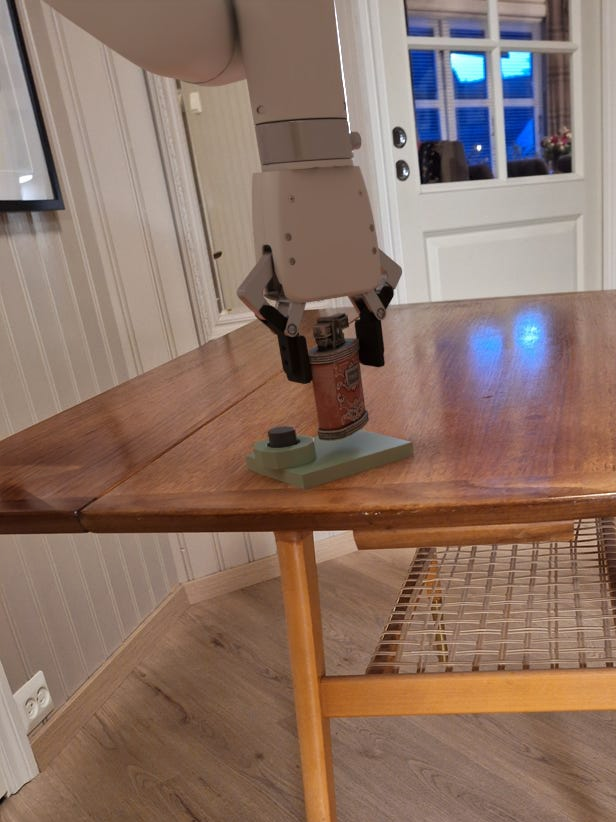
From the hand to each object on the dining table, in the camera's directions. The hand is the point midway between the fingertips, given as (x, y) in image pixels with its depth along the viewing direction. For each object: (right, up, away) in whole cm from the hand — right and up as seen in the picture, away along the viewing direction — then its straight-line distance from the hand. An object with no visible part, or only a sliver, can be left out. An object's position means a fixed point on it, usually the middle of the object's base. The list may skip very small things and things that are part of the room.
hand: (336, 372), depth 79 cm
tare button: (-4, -7, -1) cm, 8 cm away
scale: (-1, -8, +2) cm, 8 cm away
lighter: (0, -5, +3) cm, 5 cm away
